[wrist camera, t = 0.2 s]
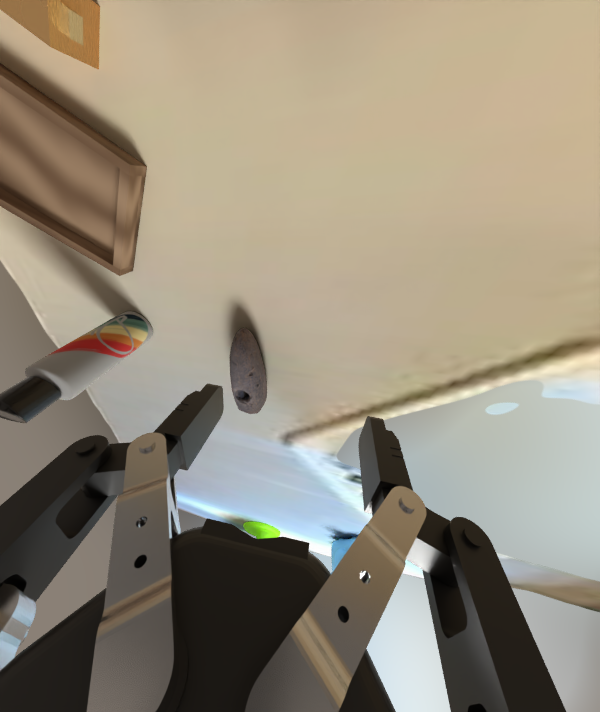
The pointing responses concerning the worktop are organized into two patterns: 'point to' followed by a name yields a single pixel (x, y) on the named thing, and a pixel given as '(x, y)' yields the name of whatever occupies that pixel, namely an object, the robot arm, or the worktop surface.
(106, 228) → the brown wooden tray
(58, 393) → the lotion bottle
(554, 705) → the robot arm
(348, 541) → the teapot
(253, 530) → the wineglass
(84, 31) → the battery cell
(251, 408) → the perforated stone tool
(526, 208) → the worktop surface
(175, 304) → the worktop surface
